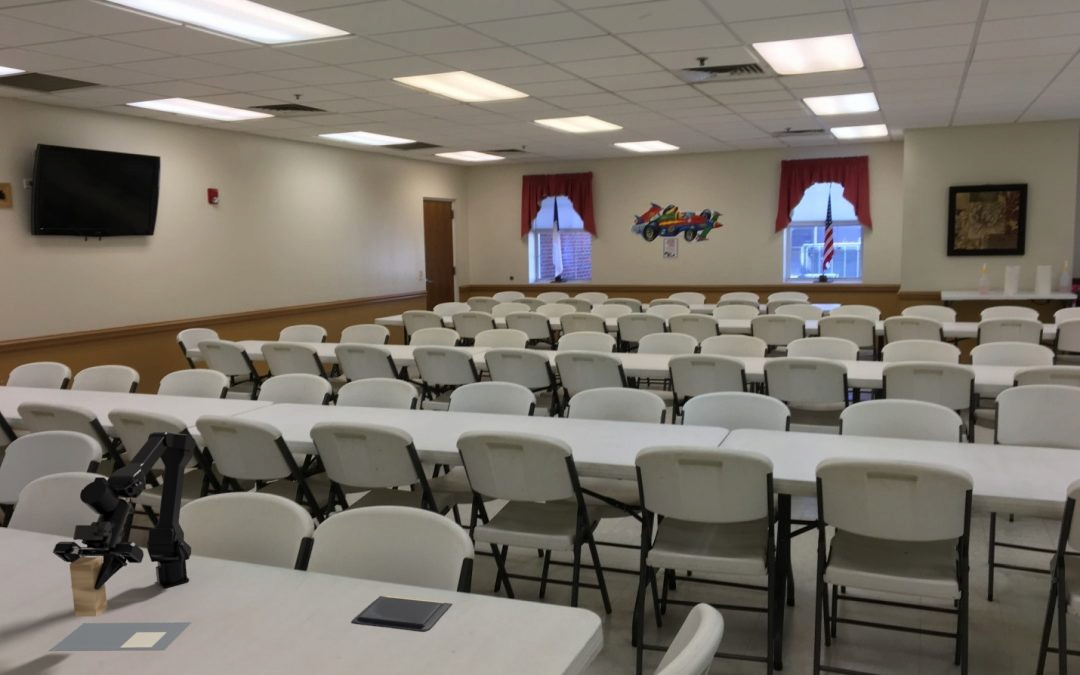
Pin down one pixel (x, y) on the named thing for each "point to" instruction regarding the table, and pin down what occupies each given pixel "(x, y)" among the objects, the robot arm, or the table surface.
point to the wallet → (402, 613)
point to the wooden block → (87, 587)
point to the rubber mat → (121, 636)
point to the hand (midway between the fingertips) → (84, 588)
